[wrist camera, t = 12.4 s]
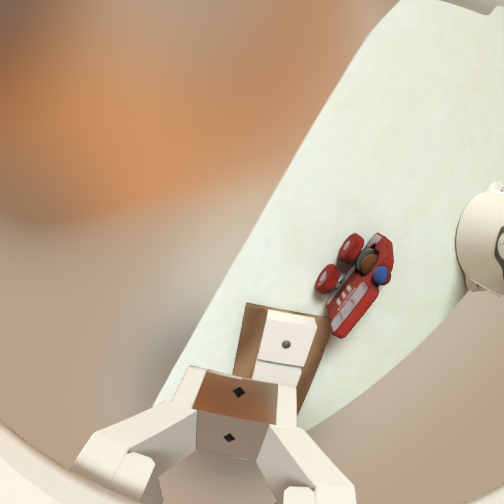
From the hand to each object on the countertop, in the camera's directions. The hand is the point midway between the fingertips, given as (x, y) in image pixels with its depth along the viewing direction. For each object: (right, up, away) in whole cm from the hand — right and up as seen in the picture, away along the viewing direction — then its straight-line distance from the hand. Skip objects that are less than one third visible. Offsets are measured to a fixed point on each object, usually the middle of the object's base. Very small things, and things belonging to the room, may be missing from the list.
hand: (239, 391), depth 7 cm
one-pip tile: (+5, -8, +32) cm, 33 cm away
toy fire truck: (+14, +2, +31) cm, 34 cm away
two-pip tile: (+4, -15, +34) cm, 38 cm away
